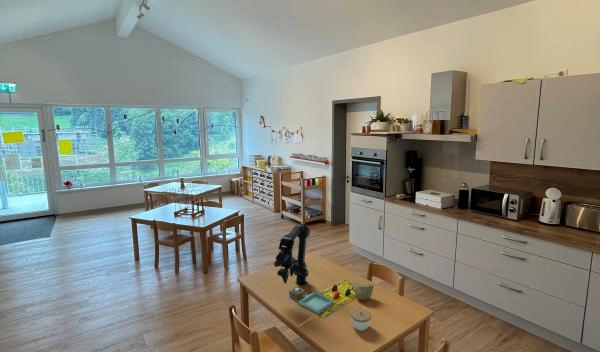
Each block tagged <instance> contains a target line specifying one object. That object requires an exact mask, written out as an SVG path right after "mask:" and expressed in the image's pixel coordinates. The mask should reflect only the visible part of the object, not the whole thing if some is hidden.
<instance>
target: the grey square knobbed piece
mask: <svg viewBox="0 0 600 352" xmlns="http://www.w3.org/2000/svg"><path fill="white" fill-rule="evenodd" d="M299 288H300V287H299ZM299 288H296V289H295V292H296V293H299ZM307 296H308V295H307V294H305V297H307ZM286 298H287V299H289V300H291V301H293V302H294V303H297V304H299V301H300V300H298V301H297V300H295V299H293V298H291V297H289V294H288V295H287V296H286Z"/></svg>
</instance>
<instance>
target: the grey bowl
mask: <svg viewBox="0 0 600 352" xmlns="http://www.w3.org/2000/svg"><path fill="white" fill-rule="evenodd" d="M350 290H351V291H353V292H354V295H355V297H356V299H357V300H360V301H367V300H369V299H371V296H372V295H373V290H374V284H371V283H360V282H357V281H356V282H353V283H352V285H351V288H350Z"/></svg>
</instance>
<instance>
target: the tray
mask: <svg viewBox="0 0 600 352" xmlns="http://www.w3.org/2000/svg"><path fill="white" fill-rule="evenodd" d="M334 300H335V299H332V298H330V297H327V296H325V295H324V294H321V293H319V292H317V291H313V292H312V293H310V294H308V295H307V297H305V298H303V299H302V300H300V301H299V302H298V304H299V305H300V306H302V307H304V308H306V309H308V310H310V311H311V312H314V313H315V315H320V314H321V313H323V312H324V311H325V310H327V309H329V308H330V307H331V306H333V305H334V304H335V303H334V302H335V301H334Z"/></svg>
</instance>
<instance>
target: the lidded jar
mask: <svg viewBox="0 0 600 352" xmlns="http://www.w3.org/2000/svg"><path fill="white" fill-rule="evenodd" d="M371 320H372V314H371V312H370V311H368V310H366V309H363V308H355V309H353V310H352V311H351V312H350V321H351V324H352V326H353V327H354V328H355V330H357V331H358V332H359V331H360V332H365V331H366V330H367V329H368V328H369V327H370V325H371Z"/></svg>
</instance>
